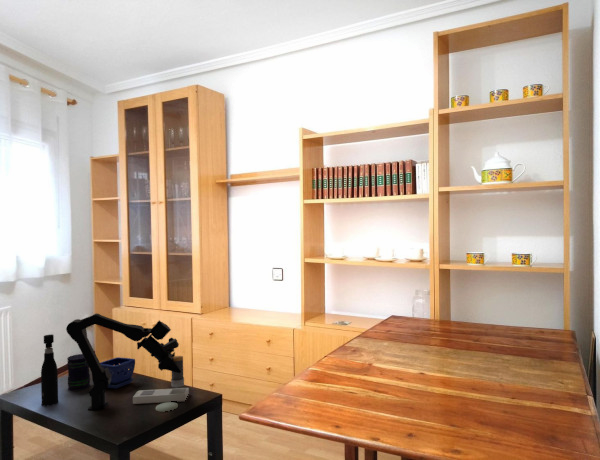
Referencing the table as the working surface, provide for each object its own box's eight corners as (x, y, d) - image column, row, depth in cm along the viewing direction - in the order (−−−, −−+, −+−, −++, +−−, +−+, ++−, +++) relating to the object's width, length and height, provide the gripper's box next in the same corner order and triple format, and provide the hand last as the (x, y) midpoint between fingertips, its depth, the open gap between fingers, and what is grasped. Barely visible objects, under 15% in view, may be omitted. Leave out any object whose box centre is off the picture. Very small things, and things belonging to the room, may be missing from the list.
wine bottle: (61, 400, 196) (59, 333, 196) (53, 405, 189) (52, 336, 190) (46, 400, 195) (45, 334, 196) (38, 406, 189) (37, 337, 189)
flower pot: (95, 388, 210) (95, 363, 211) (117, 379, 223) (117, 356, 223) (115, 391, 205) (115, 366, 205) (137, 382, 217) (136, 358, 217)
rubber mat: (175, 411, 179) (175, 409, 179) (153, 412, 178) (153, 411, 178) (179, 403, 188) (179, 401, 188) (158, 404, 187) (158, 402, 187)
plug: (182, 387, 191) (182, 358, 191) (170, 387, 191) (169, 359, 191) (185, 383, 197) (184, 355, 197) (172, 383, 196) (172, 355, 196)
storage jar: (94, 383, 217) (94, 354, 217) (82, 390, 207) (81, 359, 207) (76, 383, 218) (75, 353, 218) (63, 390, 208) (62, 359, 209)
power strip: (185, 401, 190) (185, 393, 190) (132, 403, 188) (132, 396, 188) (188, 394, 198) (188, 387, 198) (138, 397, 196) (138, 390, 196)
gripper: (165, 338, 184) (193, 362, 186) (168, 329, 202) (193, 351, 205) (146, 358, 182) (174, 382, 184) (151, 347, 200) (176, 369, 203)
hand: (180, 370), depth 194 cm, fingers closed on plug, 5 cm apart
